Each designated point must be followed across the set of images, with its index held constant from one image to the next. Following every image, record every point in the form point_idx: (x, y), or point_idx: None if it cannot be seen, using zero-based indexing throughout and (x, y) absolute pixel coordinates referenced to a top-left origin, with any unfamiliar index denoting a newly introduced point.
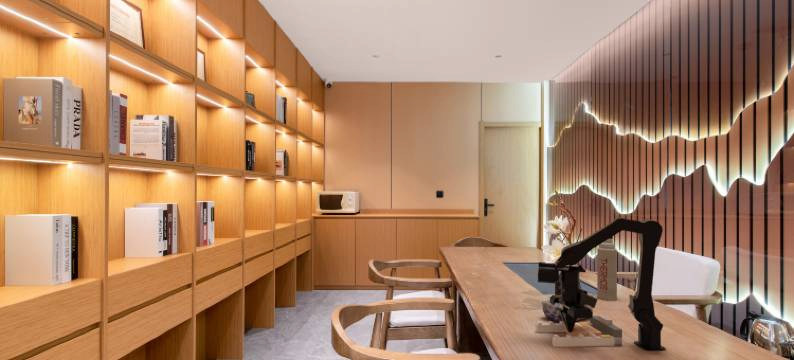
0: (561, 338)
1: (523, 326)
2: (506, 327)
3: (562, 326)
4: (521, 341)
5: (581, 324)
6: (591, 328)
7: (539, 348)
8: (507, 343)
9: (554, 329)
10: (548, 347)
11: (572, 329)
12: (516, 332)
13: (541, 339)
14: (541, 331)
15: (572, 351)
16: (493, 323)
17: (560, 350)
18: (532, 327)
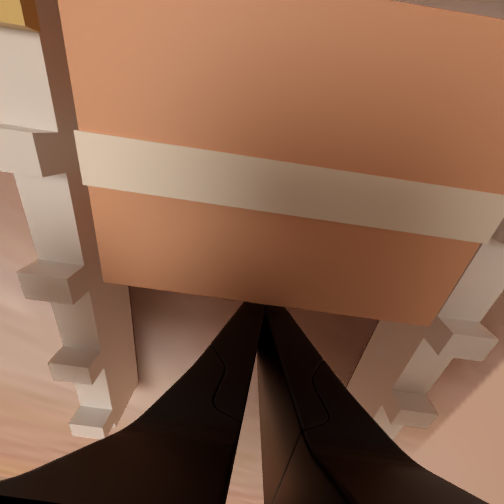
0: (392, 435)
1: (33, 390)
2: (66, 446)
3: (96, 272)
4: (252, 467)
5: (147, 113)
6: (357, 74)
7: None
8: (261, 498)
9: (120, 315)
10: None
11: (284, 313)
12: None
13: (246, 408)
14: (134, 370)
15: (455, 376)
16: (14, 460)
17: None
18: (42, 363)
